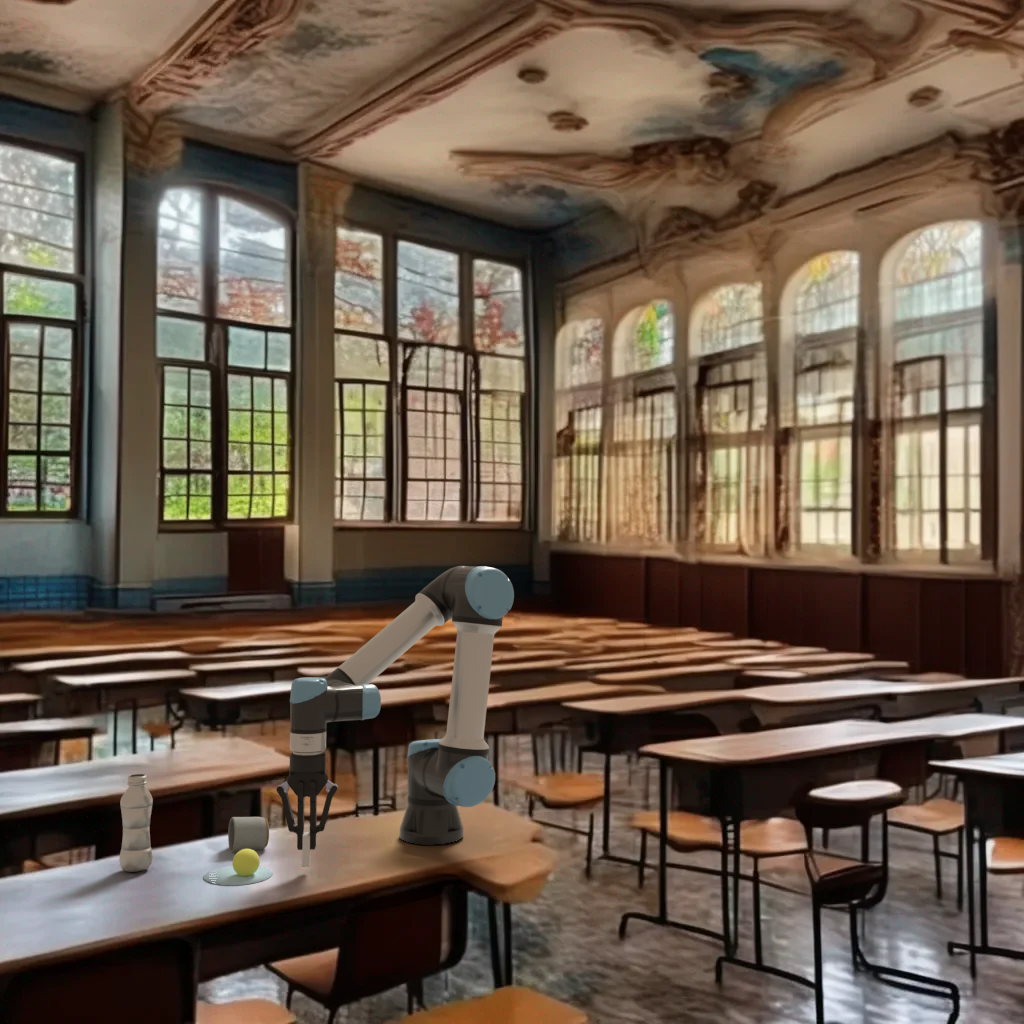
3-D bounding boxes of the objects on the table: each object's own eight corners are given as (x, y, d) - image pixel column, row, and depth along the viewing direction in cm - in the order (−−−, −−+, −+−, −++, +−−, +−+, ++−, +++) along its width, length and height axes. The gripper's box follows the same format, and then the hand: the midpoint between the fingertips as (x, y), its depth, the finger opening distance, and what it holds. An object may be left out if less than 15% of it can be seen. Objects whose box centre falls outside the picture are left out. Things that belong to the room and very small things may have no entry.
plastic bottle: (158, 870, 235) (159, 775, 235) (128, 877, 230) (130, 780, 230) (142, 864, 239) (144, 771, 240) (113, 871, 234) (115, 775, 235)
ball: (246, 877, 234) (266, 860, 235) (242, 885, 229) (263, 867, 229) (229, 857, 234) (249, 840, 234) (225, 864, 228) (246, 846, 229)
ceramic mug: (270, 852, 250) (270, 817, 250) (233, 856, 246) (234, 821, 247) (259, 841, 259) (259, 808, 260) (224, 845, 256) (224, 811, 256)
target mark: (276, 865, 239) (276, 864, 239) (268, 884, 225) (268, 883, 225) (209, 866, 238) (209, 865, 238) (197, 886, 224) (197, 885, 224)
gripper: (274, 755, 229) (272, 870, 229) (338, 754, 231) (336, 869, 230) (278, 749, 237) (276, 860, 236) (340, 748, 238) (338, 859, 237)
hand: (306, 864), depth 233 cm, fingers closed
